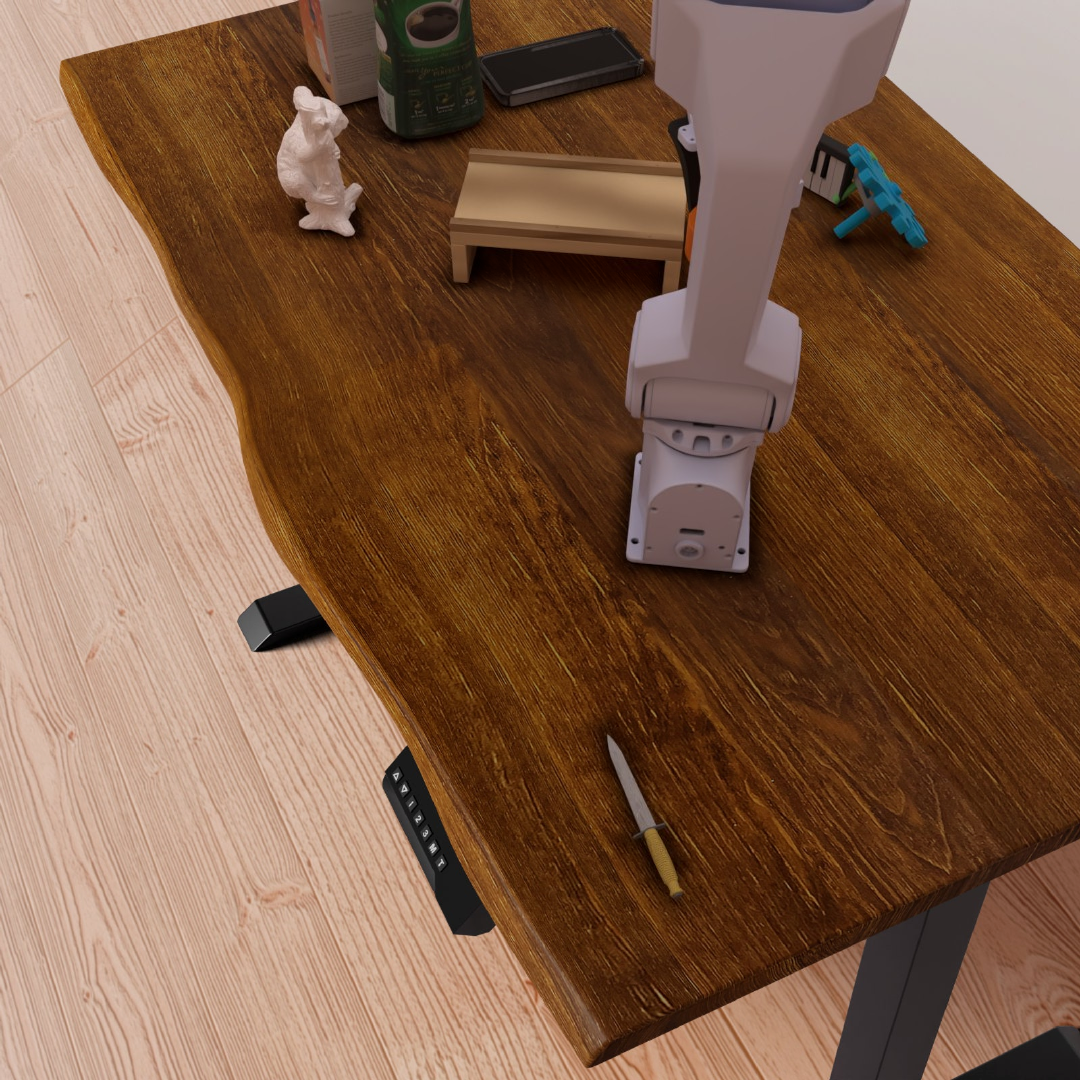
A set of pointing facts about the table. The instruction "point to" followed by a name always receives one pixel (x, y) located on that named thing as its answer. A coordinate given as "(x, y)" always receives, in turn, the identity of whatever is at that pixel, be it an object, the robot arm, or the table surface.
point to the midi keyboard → (829, 169)
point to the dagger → (645, 821)
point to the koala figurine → (317, 164)
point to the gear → (878, 198)
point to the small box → (342, 47)
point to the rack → (570, 208)
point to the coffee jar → (427, 67)
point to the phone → (559, 66)
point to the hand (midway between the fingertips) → (720, 236)
